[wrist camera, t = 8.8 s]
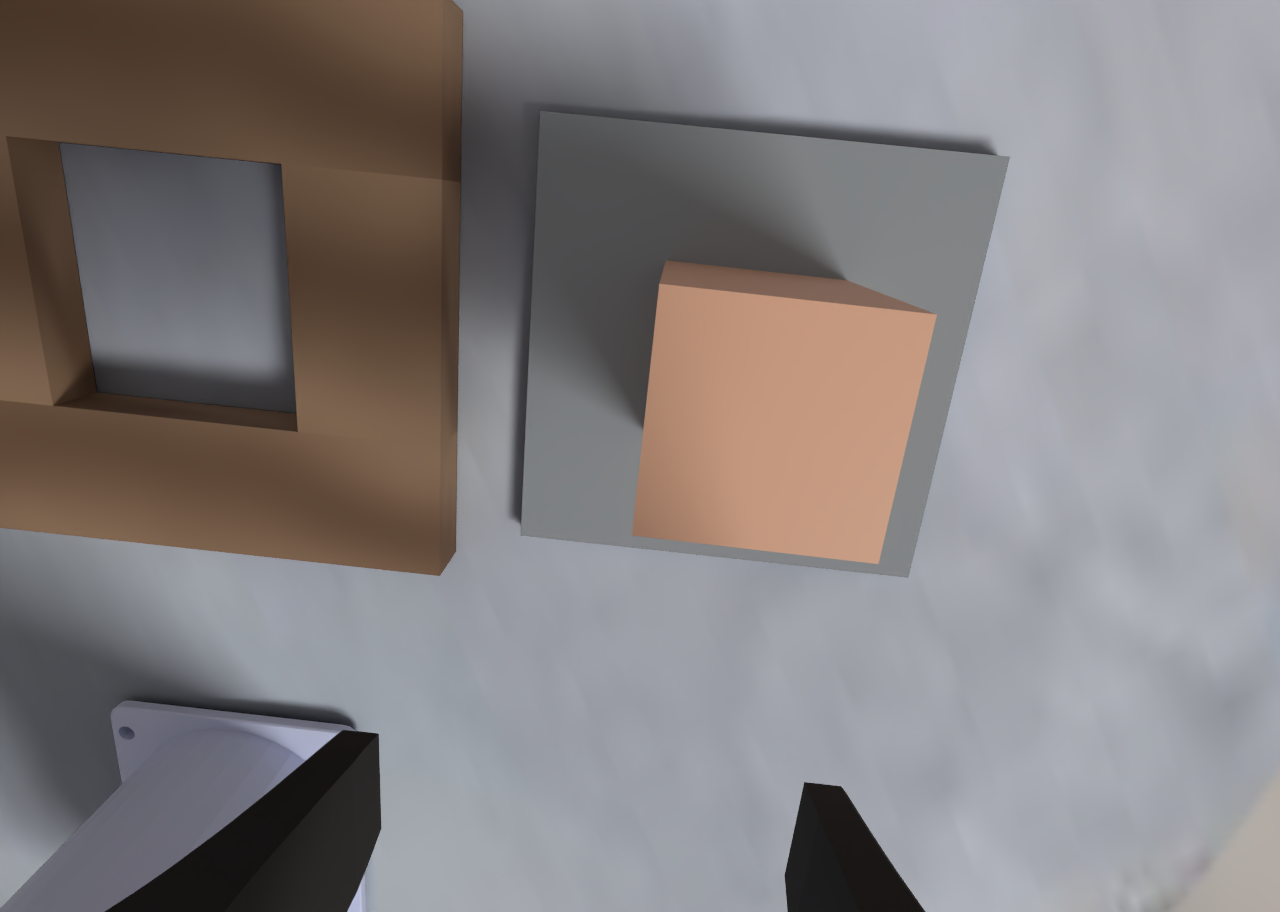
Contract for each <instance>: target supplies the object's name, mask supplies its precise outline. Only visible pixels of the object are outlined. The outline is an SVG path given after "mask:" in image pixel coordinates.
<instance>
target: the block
mask: <svg viewBox="0 0 1280 912" xmlns="http://www.w3.org/2000/svg"><path fill="white" fill-rule="evenodd" d="M936 317H937V314H934V313H932V312H929V311H927V310H924V309H921V308H919V307H916V306H913V305H911V304H908V303H906V302H903V301H900V300H898V299H895V298H892V297H890V296H887V295H884V294H882V293H879V292H877V291H874V290H871V289H869V288H866V287H863V286H861V285H858V284H856V283H853V282H850V281H848V280H840V279H831V278H822V277H813V276H804V275H795V274H786V273H777V272H768V271H759V270H749V269H740V268H731V267H722V266H713V265H704V264H695V263H686V262H677V261H668V260H666V262H665V265H664V269H663V272H662V276H661V280H660V283H659V291H658V301H657V310H656V319H655V328H654V337H653V346H652V355H651V364H650V374H649V383H648V392H647V401H646V410H645V419H644V428H643V437H642V447H641V456H640V465H639V474H638V483H637V492H636V501H635V511H634V520H633V529H632V536H641V537H649V538H658V539H667V540H675V541H684V542H692V543H701V544H710V545H718V546H727V547H736V548H744V549H753V550H761V551H770V552H779V553H787V554H796V555H804V556H813V557H822V558H830V559H839V560H848V561H856V562H865V563H873V564H879V560H880V555H881V551H882V547H883V543H884V538H885V534H886V530H887V526H888V521H889V517H890V513H891V509H892V504H893V500H894V496H895V492H896V487H897V483H898V479H899V475H900V470H901V466H902V462H903V457H904V453H905V449H906V445H907V440H908V436H909V432H910V428H911V423H912V419H913V415H914V411H915V406H916V402H917V398H918V394H919V389H920V385H921V381H922V377H923V372H924V368H925V364H926V359H927V355H928V351H929V347H930V342H931V338H932V334H933V330H934V325H935V321H936Z"/></svg>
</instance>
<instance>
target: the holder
mask: <svg viewBox="0 0 1280 912" xmlns="http://www.w3.org/2000/svg"><path fill="white" fill-rule="evenodd" d="M462 51H463V11H462V10H461V9H460V8H459V7H458V6H457V5H456V4H455V3H454V2H453V1H452V0H0V528H9V529H18V530H27V531H36V532H46V533H55V534H64V535H73V536H82V537H91V538H100V539H109V540H118V541H127V542H137V543H146V544H155V545H164V546H173V547H182V548H191V549H200V550H209V551H219V552H228V553H237V554H246V555H255V556H264V557H273V558H282V559H291V560H300V561H310V562H319V563H328V564H337V565H346V566H355V567H364V568H373V569H382V570H391V571H401V572H410V573H419V574H428V575H437V576H440V575H441V573H442V572H443V570H444V569H445V567H446V566H447V564H448V563H449V561H450V560H451V558H452V557H453V555H454V554H455V552H456V498H457V423H458V349H459V275H460V200H461V126H462ZM59 142H60V143H70V144H80V145H90V146H100V147H110V148H120V149H130V150H140V151H150V152H160V153H170V154H180V155H190V156H200V157H210V158H220V159H230V160H240V161H250V162H260V163H270V164H280V165H281V167H282V183H283V199H284V216H285V232H286V248H287V264H288V281H289V297H290V313H291V329H292V346H293V362H294V378H295V394H296V411H297V414H295V413H286V412H276V411H267V410H258V409H248V408H239V407H229V406H220V405H210V404H201V403H192V402H182V401H173V400H163V399H154V398H145V397H135V396H126V395H116V394H107V393H98V392H97V390H96V383H95V377H94V370H93V364H92V357H91V351H90V344H89V337H88V331H87V324H86V318H85V311H84V305H83V298H82V292H81V285H80V279H79V272H78V266H77V259H76V253H75V246H74V239H73V233H72V226H71V220H70V213H69V207H68V200H67V194H66V187H65V181H64V174H63V168H62V161H61V154H60V148H59Z"/></svg>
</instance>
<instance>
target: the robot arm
mask: <svg viewBox="0 0 1280 912" xmlns="http://www.w3.org/2000/svg"><path fill="white" fill-rule="evenodd" d="M111 723H112V729H113V735H114V741H115V747H116V752H117V758H118V764H119V770H120V776H121V781H122V785H121V786H120V787H119V788H118V789H117V790H116V791H115V792H114V793H113V794H112V795H111V796H110V797H109V798H108V799H107V800H106V801H105V802H104V803H103V804H102V805H101V806H100V807H99V808H98V809H97V810H96V811H95V812H94V813H93V814H92V815H91V816H90V817H89V818H88V819H87V820H86V821H85V822H84V823H83V824H82V825H81V826H80V827H79V828H78V830H77V831H76V832H75V833H74V834H73V835H72V836H71V837H70V838H69V839H68V840H67V841H66V842H65V843H64V844H63V845H62V846H61V847H60V848H59V849H58V850H57V851H56V852H55V853H54V854H53V855H52V856H51V857H50V858H49V859H48V860H47V861H46V862H45V863H44V864H43V865H42V866H41V867H40V868H39V869H38V870H37V871H36V872H35V873H34V874H33V875H32V876H31V878H30V879H29V880H28V881H27V882H26V883H25V884H24V885H23V886H22V887H21V888H20V889H19V890H18V891H17V892H16V893H15V894H14V895H13V896H12V897H11V898H10V899H9V900H8V901H7V902H6V903H5V904H4V905H3V906H2V907H1V908H0V912H366V900H365V874H364V873H365V870H366V868H367V865H368V863H369V860H370V857H371V854H372V852H373V849H374V846H375V844H376V841H377V838H378V836H379V833H380V830H381V805H380V769H379V734H376V733H367V732H359V731H355V730H354V729H353V728H351V727H350V726H346V725H341V724H332V723H323V722H315V721H306V720H297V719H288V718H279V717H271V716H262V715H253V714H244V713H235V712H227V711H218V710H209V709H200V708H192V707H183V706H174V705H165V704H156V703H148V702H139V701H123V702H121V703H120V704H119V705H118V706H116V707H115V708H114V709H113V710H112V712H111ZM130 728H131V729H130ZM785 883H786V895H787V907H788V912H925V911H924V909H923V908H922V906H921V905H920V904H919V902H918V901H917V899H916V898H915V897H914V895H913V894H912V892H911V891H910V889H909V888H908V887H907V885H906V884H905V882H904V881H903V880H902V878H901V877H900V875H899V874H898V872H897V871H896V869H895V868H894V866H893V865H892V863H891V862H890V861H889V859H888V857H887V856H886V854H885V853H884V851H883V850H882V848H881V847H880V845H879V844H878V842H877V841H876V839H875V838H874V836H873V835H872V833H871V831H870V830H869V828H868V827H867V825H866V824H865V822H864V821H863V819H862V817H861V816H860V814H859V813H858V811H857V809H856V808H855V806H854V805H853V803H852V801H851V800H850V798H849V797H848V795H847V794H846V792H845V791H844V790H843V788H842V787H841V786H832V785H824V784H815V783H806V782H804V787H803V792H802V796H801V801H800V806H799V811H798V815H797V820H796V825H795V829H794V834H793V839H792V844H791V848H790V853H789V858H788V863H787V867H786V872H785Z"/></svg>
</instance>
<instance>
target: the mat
mask: <svg viewBox="0 0 1280 912" xmlns="http://www.w3.org/2000/svg"><path fill="white" fill-rule="evenodd" d="M1009 158H1010V157H1007V156H997V155H987V154H976V153H966V152H956V151H946V150H936V149H925V148H915V147H905V146H895V145H885V144H874V143H864V142H854V141H844V140H834V139H823V138H813V137H803V136H793V135H783V134H772V133H762V132H752V131H742V130H732V129H721V128H711V127H701V126H691V125H681V124H670V123H660V122H650V121H640V120H630V119H620V118H609V117H599V116H589V115H579V114H569V113H558V112H548V111H540V121H539V143H538V165H537V187H536V209H535V231H534V253H533V275H532V297H531V319H530V341H529V363H528V385H527V408H526V430H525V452H524V474H523V496H522V518H521V536H530V537H540V538H549V539H558V540H567V541H577V542H586V543H595V544H604V545H613V546H623V547H632V548H641V549H650V550H659V551H669V552H678V553H687V554H696V555H705V556H715V557H724V558H733V559H742V560H751V561H761V562H770V563H779V564H788V565H797V566H807V567H816V568H825V569H834V570H843V571H853V572H862V573H871V574H880V575H889V576H899V577H908V576H909V572H910V568H911V564H912V560H913V556H914V551H915V547H916V543H917V539H918V535H919V531H920V527H921V522H922V518H923V514H924V510H925V506H926V502H927V498H928V493H929V489H930V485H931V481H932V477H933V473H934V469H935V465H936V460H937V456H938V452H939V448H940V444H941V440H942V436H943V431H944V427H945V423H946V419H947V415H948V411H949V407H950V402H951V398H952V394H953V390H954V386H955V382H956V378H957V373H958V369H959V365H960V361H961V357H962V353H963V349H964V345H965V340H966V336H967V332H968V328H969V324H970V320H971V316H972V311H973V307H974V303H975V299H976V295H977V291H978V287H979V282H980V278H981V274H982V270H983V266H984V262H985V258H986V253H987V249H988V245H989V241H990V237H991V233H992V229H993V224H994V220H995V216H996V212H997V208H998V204H999V200H1000V196H1001V191H1002V187H1003V183H1004V179H1005V175H1006V171H1007V167H1008V162H1009ZM666 260H668V261H677V262H686V263H695V264H704V265H713V266H722V267H731V268H740V269H749V270H759V271H768V272H777V273H786V274H795V275H804V276H813V277H822V278H831V279H840V280H848V281H850V282H853V283H856V284H858V285H861V286H863V287H866V288H869V289H871V290H874V291H877V292H879V293H882V294H884V295H887V296H890V297H892V298H895V299H898V300H900V301H903V302H906V303H908V304H911V305H913V306H916V307H919V308H921V309H924V310H927V311H929V312H932V313H934V314H937V317H936V321H935V325H934V330H933V334H932V338H931V342H930V347H929V351H928V355H927V359H926V364H925V368H924V372H923V377H922V381H921V385H920V389H919V394H918V398H917V402H916V406H915V411H914V415H913V419H912V423H911V428H910V432H909V436H908V440H907V445H906V449H905V453H904V457H903V462H902V466H901V470H900V475H899V479H898V483H897V487H896V492H895V496H894V500H893V504H892V509H891V513H890V517H889V521H888V526H887V530H886V534H885V538H884V543H883V547H882V551H881V555H880V560H879V564H873V563H865V562H856V561H848V560H839V559H830V558H822V557H813V556H804V555H796V554H787V553H779V552H770V551H761V550H753V549H744V548H736V547H727V546H718V545H710V544H701V543H692V542H684V541H675V540H667V539H658V538H649V537H641V536H632V529H633V520H634V511H635V501H636V492H637V483H638V474H639V465H640V456H641V447H642V437H643V428H644V419H645V410H646V401H647V392H648V383H649V374H650V364H651V355H652V346H653V337H654V328H655V319H656V310H657V301H658V291H659V283H660V280H661V276H662V272H663V269H664V265H665V262H666Z"/></svg>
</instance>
